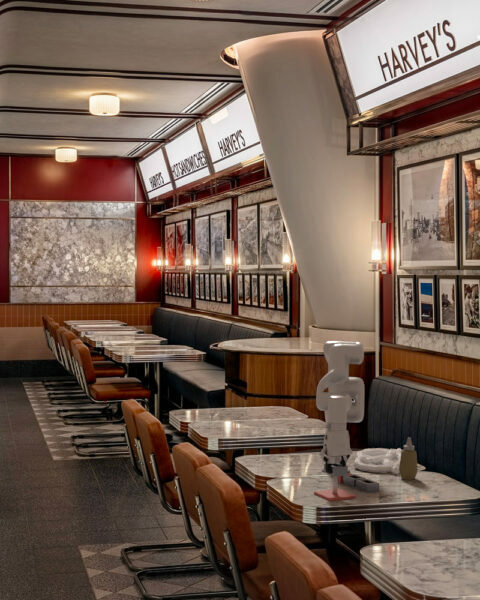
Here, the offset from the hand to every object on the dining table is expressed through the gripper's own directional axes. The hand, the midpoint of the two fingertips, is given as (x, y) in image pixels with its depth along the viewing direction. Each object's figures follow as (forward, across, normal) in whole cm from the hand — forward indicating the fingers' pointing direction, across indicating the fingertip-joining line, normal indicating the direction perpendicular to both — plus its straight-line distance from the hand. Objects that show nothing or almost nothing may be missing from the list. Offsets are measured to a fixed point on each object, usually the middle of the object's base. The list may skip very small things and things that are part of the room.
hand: (335, 471), depth 350 cm
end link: (+1, 0, 0) cm, 1 cm away
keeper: (+10, 0, 0) cm, 10 cm away
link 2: (+10, +18, +3) cm, 21 cm away
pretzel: (+10, +50, +36) cm, 62 cm away
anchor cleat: (+10, +18, +20) cm, 28 cm away
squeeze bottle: (+10, +47, +13) cm, 50 cm away
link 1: (+10, +18, +12) cm, 24 cm away
